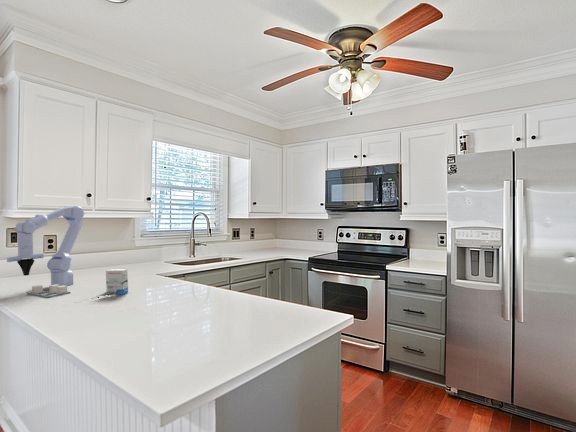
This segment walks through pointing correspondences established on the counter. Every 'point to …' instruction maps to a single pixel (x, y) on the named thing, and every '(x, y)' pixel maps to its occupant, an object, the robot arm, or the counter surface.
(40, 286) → the off-white rectangular block
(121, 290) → the ink box
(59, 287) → the off-white rectangular block
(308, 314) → the counter surface
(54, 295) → the grey divided tray
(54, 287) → the cream rectangular block
